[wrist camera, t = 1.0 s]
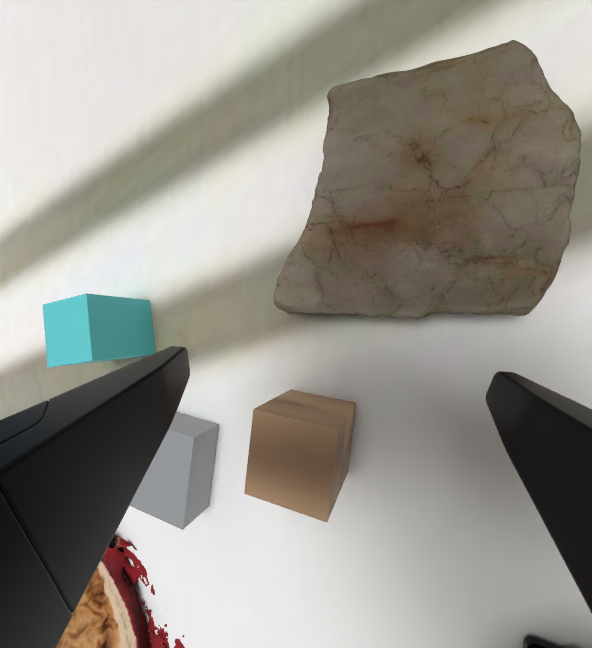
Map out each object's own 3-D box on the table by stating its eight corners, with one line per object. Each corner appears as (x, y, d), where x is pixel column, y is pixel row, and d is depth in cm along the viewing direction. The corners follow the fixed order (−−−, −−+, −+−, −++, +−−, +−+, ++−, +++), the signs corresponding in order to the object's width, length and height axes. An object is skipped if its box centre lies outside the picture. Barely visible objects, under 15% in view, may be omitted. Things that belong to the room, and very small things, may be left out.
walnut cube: (347, 472, 22) (327, 522, 16) (283, 453, 23) (244, 493, 18) (355, 402, 22) (337, 429, 16) (290, 389, 23) (253, 409, 18)
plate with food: (-20, 589, 38) (-62, 615, 35) (71, 448, 32) (31, 464, 28) (86, 795, 32) (47, 851, 28) (226, 671, 25) (198, 725, 22)
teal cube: (155, 354, 28) (92, 360, 22) (116, 360, 30) (47, 367, 24) (150, 300, 28) (86, 293, 23) (111, 309, 30) (42, 304, 24)
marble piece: (284, 313, 24) (260, 310, 20) (296, 126, 24) (275, 86, 20) (541, 327, 18) (578, 327, 14) (558, 81, 18) (599, 13, 14)
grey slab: (211, 503, 26) (182, 529, 23) (148, 478, 28) (114, 498, 25) (221, 423, 26) (193, 437, 22) (157, 404, 28) (123, 415, 25)
